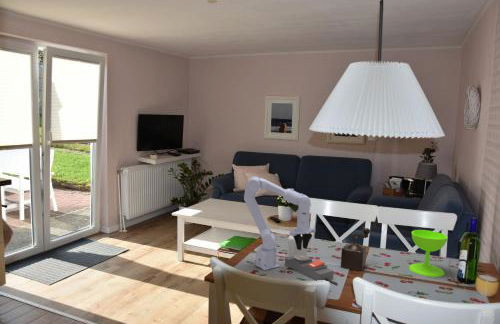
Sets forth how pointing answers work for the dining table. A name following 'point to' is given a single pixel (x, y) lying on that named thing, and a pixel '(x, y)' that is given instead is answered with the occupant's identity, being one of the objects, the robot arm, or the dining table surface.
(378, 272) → the dining table surface
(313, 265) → the red rocker
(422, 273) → the wineglass
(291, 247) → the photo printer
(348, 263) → the manual coffee grinder
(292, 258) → the power strip
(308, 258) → the grey rocker
